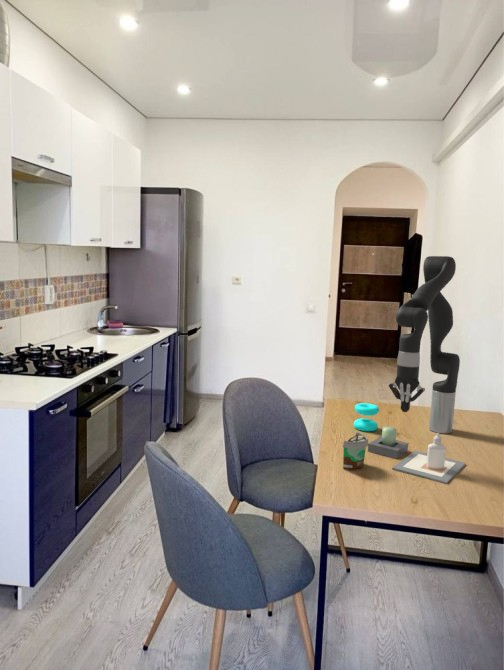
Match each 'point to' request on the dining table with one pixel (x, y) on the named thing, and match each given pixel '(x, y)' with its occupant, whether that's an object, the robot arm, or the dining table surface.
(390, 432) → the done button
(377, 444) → the button housing
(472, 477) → the dining table surface
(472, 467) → the dining table surface
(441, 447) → the eye dropper bottle
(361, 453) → the food container
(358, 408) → the donuts
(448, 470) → the sketch board
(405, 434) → the dining table surface
